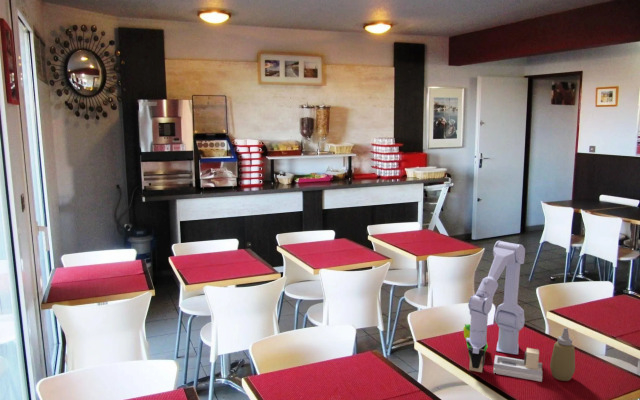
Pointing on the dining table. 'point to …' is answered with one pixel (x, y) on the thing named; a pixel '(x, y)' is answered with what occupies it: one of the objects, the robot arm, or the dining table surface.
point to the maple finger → (480, 364)
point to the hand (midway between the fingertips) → (476, 364)
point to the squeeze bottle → (563, 358)
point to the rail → (520, 366)
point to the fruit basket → (467, 335)
